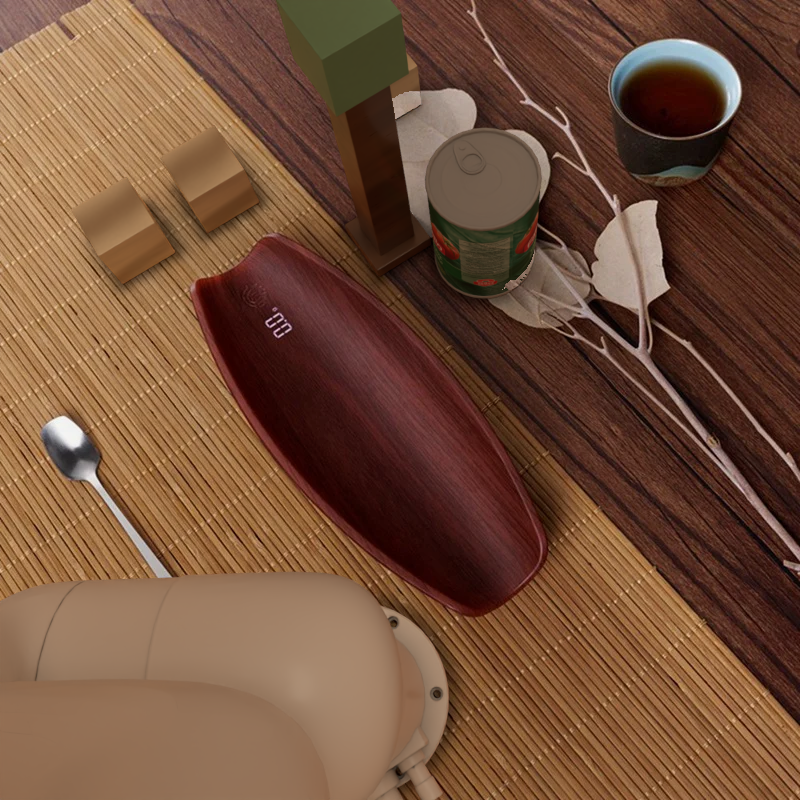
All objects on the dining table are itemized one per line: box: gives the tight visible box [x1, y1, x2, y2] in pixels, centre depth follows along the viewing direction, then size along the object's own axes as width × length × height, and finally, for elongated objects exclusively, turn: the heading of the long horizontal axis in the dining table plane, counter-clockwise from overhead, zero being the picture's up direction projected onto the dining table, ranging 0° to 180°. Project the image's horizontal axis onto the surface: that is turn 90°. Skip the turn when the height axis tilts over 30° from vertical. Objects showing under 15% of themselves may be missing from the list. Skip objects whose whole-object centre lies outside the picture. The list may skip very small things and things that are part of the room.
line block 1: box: [70, 176, 176, 285], centre depth 74 cm, size 5×5×5 cm
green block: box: [275, 0, 409, 117], centre depth 52 cm, size 5×5×5 cm
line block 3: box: [390, 51, 421, 98], centre depth 76 cm, size 5×5×5 cm
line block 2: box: [159, 124, 260, 234], centre depth 74 cm, size 5×5×5 cm
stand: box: [325, 85, 432, 278], centre depth 64 cm, size 5×5×21 cm
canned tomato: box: [424, 127, 543, 300], centre depth 67 cm, size 8×8×11 cm
